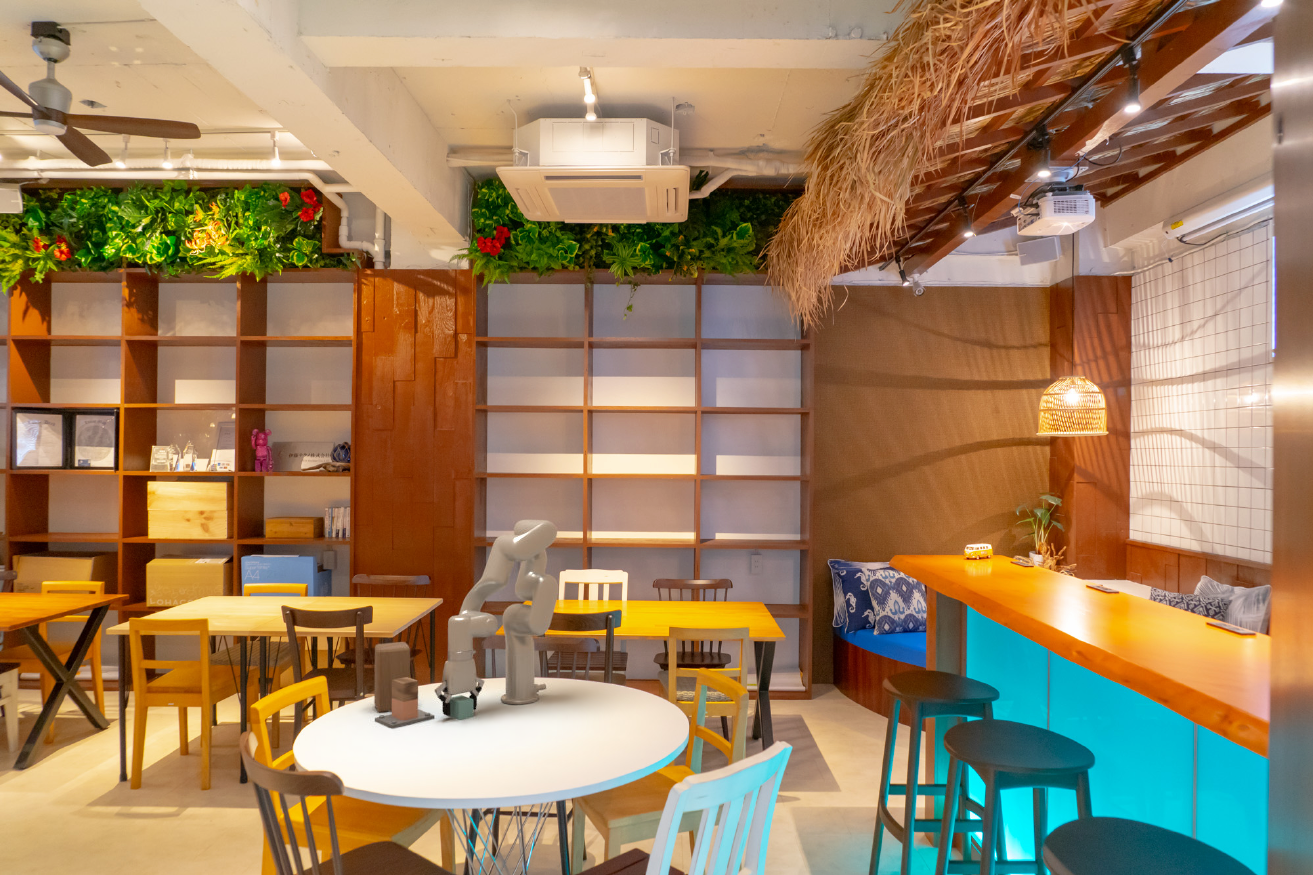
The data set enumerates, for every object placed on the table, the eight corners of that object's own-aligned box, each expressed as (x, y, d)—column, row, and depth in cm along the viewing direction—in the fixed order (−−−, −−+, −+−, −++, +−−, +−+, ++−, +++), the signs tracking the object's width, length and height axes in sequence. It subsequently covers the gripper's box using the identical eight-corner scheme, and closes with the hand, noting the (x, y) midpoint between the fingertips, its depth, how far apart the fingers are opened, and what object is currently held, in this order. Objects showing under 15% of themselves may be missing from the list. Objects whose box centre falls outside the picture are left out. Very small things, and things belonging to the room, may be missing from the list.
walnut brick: (406, 694, 259) (406, 676, 259) (418, 698, 254) (418, 680, 254) (391, 697, 255) (391, 679, 255) (403, 702, 250) (403, 683, 250)
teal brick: (461, 712, 262) (461, 695, 262) (473, 717, 257) (473, 699, 257) (447, 715, 258) (447, 698, 258) (459, 720, 253) (459, 702, 253)
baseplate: (416, 711, 263) (416, 690, 263) (434, 718, 255) (434, 697, 255) (374, 721, 253) (374, 699, 253) (391, 728, 245) (392, 706, 245)
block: (374, 705, 271) (374, 643, 271) (405, 701, 275) (405, 641, 276) (377, 713, 261) (378, 649, 262) (410, 709, 266) (410, 646, 267)
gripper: (477, 650, 267) (477, 704, 266) (429, 658, 255) (428, 715, 254) (490, 653, 262) (490, 708, 261) (441, 662, 250) (441, 720, 249)
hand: (459, 711), depth 257 cm, fingers open, 8 cm apart
